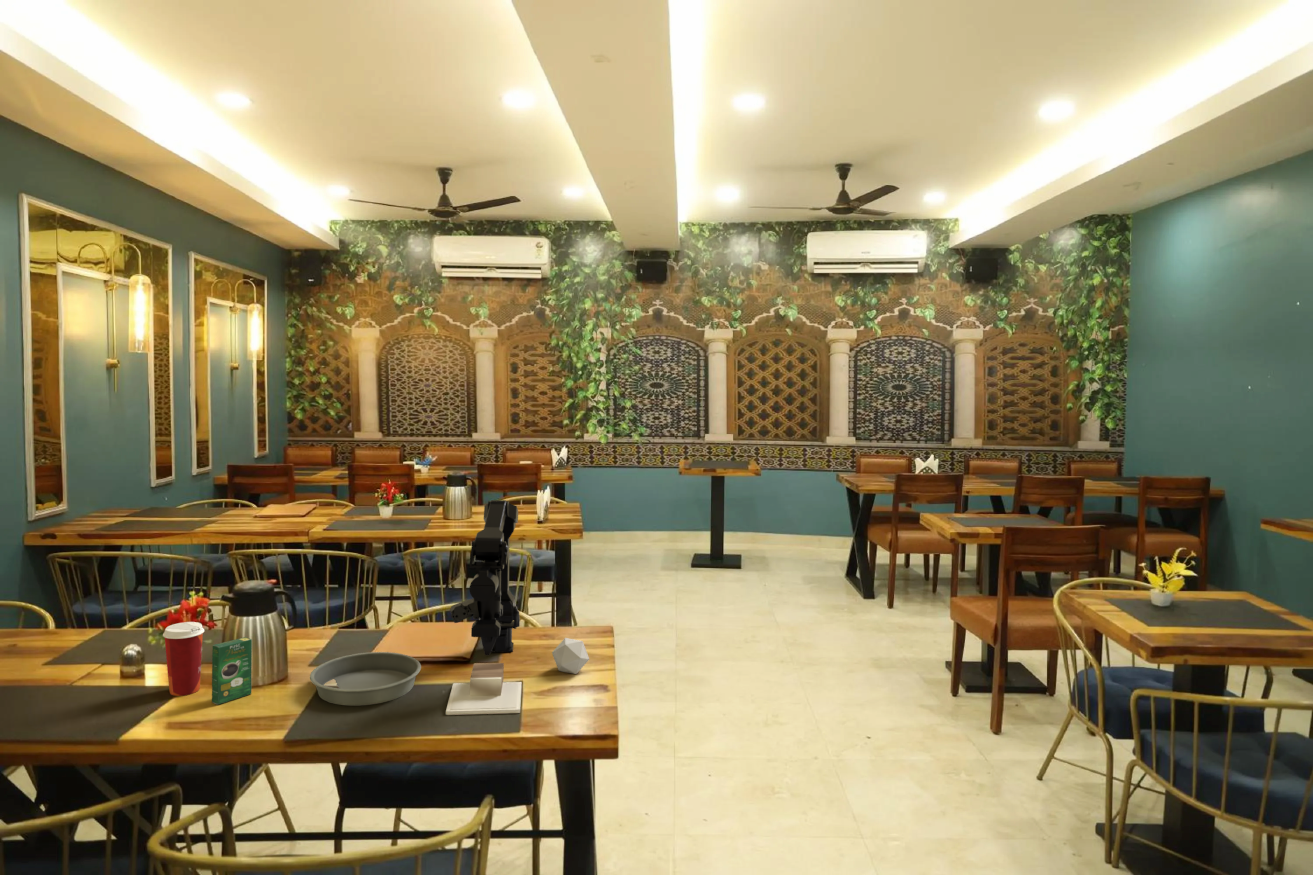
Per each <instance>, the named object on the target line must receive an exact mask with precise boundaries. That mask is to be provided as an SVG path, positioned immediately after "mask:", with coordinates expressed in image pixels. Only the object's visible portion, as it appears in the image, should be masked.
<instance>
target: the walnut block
mask: <svg viewBox="0 0 1313 875" xmlns="http://www.w3.org/2000/svg"><path fill="white" fill-rule="evenodd" d="M504 665H505V664H504V662H487V663H486V662H483V663H482V662H481V663H480V662H479V663H478V662H476V663H473V666H472V671H471V672H470V673H471V675H470V678H469V683H470V696H500V695H501V692H502V685H503V682H504V673H505V672H504V671H505V670H504Z"/></svg>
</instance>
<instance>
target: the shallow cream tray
mask: <svg viewBox="0 0 1313 875" xmlns="http://www.w3.org/2000/svg"><path fill="white" fill-rule="evenodd" d="M522 683H523V682H522V681H507V682H505V681H503V685H502V692H501V695H500V696H470V682H463V683H462V682H461V683H460V682H458V683H457V682H454V683H452V687H451V691H450V694H449V698H448V702H447V706H446V710H445V716H455V715H458V716H459V715H487V714H488V715H493V714H498V715H499V714H520V713H521V700H522Z"/></svg>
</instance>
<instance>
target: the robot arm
mask: <svg viewBox="0 0 1313 875" xmlns="http://www.w3.org/2000/svg"><path fill="white" fill-rule="evenodd" d="M483 521H484V526H483V529H482V530H480V531H478V532H476V535H475V537H474V538H475V539H474V540H473V541H471V546H470V547H471V548H470V556H469V567H468V569H469V570H475V575H474V577H473V579H472V580H471V581H470V585H469V588H468V589H469V594H470V596H471V597H472V598H469V599H467V600H464V601H461V602H457V603H454V604H453V605H451V606H450V609H449V612H450V615H451V616H450V617H451V619H452V620H453V623H454V624H457V623H460V622H461V621H463V620H466V619H469V618H472V619H473V620H475V621H474V622H472V625H471V629H470V630H471V632H470V633H471V634H470V635H471V636H470V637H472V638H480V639H481V643H482V644H481V645H482V648H483V654H484V656H490V655H491V653H512V652H514V642H513V630H514V629H515V630H516V629H517V628H520V626H521V625H520V624H521V623H520V621H521V620H520V611H519V610H518V606H517V605H516V604H515V602H516V599H515V597H514V595H513V593H512V592H511V590H510V539H511V536H512V534H513V533H514V532H515V529H516V524H518V523H519V509H518V506H517V505H514V504H513V503H511V502H509V500H508V501H507V500H505V499H491V500H488V502H487V504H484V507H483Z"/></svg>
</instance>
